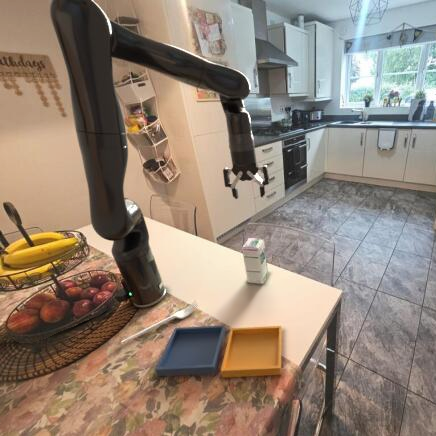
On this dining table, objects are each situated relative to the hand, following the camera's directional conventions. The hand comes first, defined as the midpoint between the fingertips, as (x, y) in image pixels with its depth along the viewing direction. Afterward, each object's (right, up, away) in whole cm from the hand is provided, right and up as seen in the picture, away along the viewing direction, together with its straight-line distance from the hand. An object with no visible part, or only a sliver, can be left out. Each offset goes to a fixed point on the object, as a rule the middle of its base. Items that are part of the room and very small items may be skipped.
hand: (249, 197), depth 82 cm
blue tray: (-10, -40, -21) cm, 47 cm away
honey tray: (+5, -40, -22) cm, 46 cm away
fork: (-22, -37, -13) cm, 45 cm away
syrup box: (+2, -28, +3) cm, 28 cm away
